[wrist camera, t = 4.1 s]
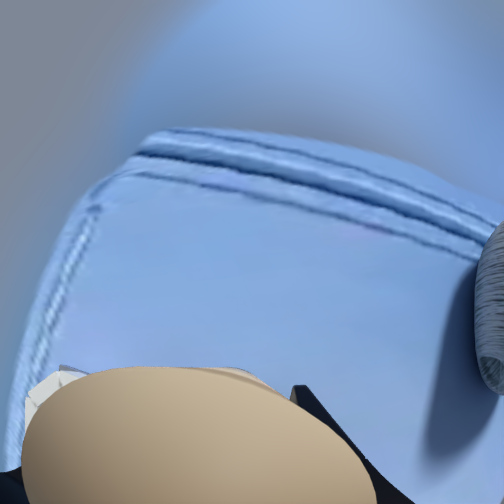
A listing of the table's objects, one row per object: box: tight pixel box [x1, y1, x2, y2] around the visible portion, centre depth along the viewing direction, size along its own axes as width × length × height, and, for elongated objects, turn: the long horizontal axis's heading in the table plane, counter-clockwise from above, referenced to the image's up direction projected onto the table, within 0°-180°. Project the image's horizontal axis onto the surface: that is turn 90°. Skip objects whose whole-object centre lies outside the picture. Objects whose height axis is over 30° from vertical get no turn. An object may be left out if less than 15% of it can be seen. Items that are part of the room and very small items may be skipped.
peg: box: [21, 366, 377, 504], centre depth 8 cm, size 4×4×13 cm
